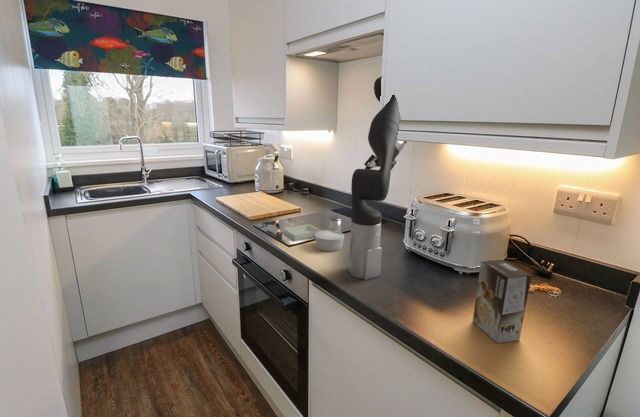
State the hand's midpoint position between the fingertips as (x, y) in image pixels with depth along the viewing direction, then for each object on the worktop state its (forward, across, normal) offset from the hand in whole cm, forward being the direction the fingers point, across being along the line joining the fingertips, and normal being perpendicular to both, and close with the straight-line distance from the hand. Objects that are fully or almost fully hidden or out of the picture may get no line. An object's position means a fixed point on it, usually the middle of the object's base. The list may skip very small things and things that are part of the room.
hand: (369, 176), depth 143 cm
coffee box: (+32, +71, +3) cm, 78 cm away
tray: (+36, -10, -2) cm, 37 cm away
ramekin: (+35, +7, 0) cm, 35 cm away
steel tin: (+28, -2, +6) cm, 29 cm away
